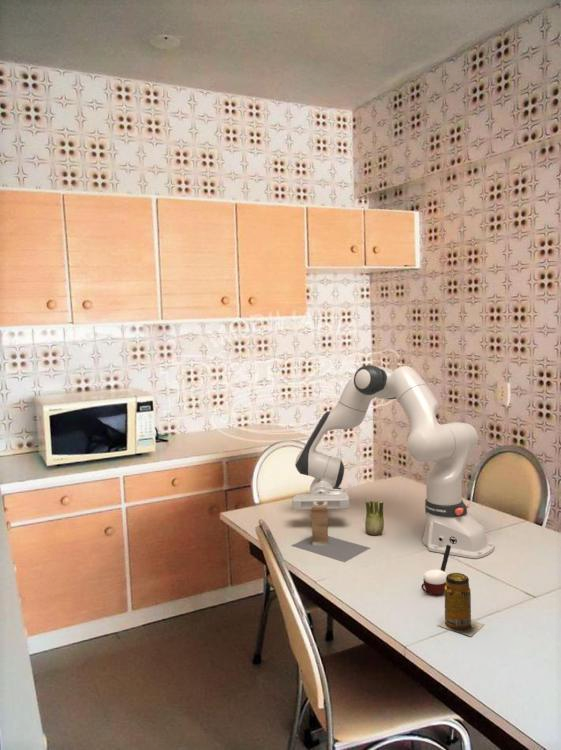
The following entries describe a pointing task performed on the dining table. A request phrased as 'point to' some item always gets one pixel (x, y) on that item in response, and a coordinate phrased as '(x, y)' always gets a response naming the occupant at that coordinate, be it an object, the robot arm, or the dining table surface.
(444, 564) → the cocoa
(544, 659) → the dining table surface
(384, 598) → the dining table surface
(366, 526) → the fennel bulb
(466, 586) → the condiment
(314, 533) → the walnut block
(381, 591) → the dining table surface
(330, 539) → the felt mat
